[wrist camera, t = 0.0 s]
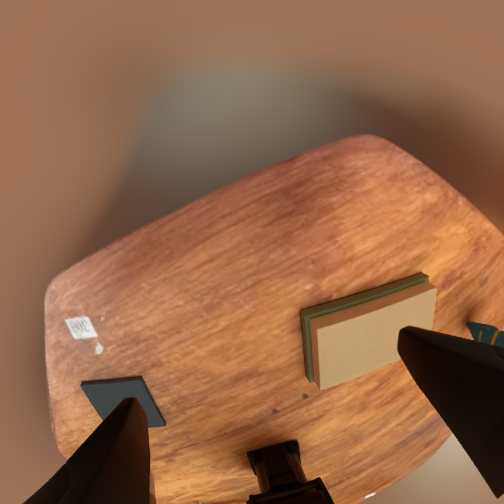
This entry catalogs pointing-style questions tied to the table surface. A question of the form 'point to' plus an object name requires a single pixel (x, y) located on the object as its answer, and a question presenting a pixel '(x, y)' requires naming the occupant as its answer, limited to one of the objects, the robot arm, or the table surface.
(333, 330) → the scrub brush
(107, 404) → the mat
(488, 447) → the robot arm
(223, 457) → the table surface
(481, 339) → the ornament
